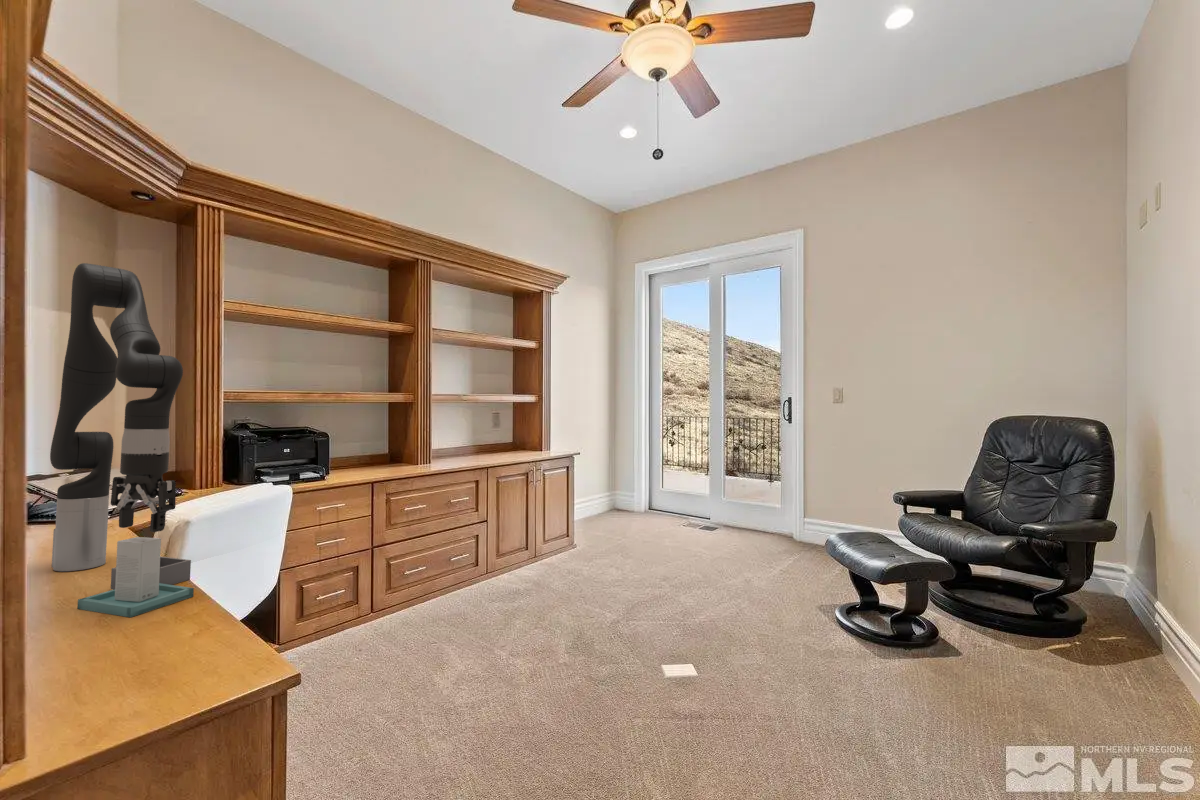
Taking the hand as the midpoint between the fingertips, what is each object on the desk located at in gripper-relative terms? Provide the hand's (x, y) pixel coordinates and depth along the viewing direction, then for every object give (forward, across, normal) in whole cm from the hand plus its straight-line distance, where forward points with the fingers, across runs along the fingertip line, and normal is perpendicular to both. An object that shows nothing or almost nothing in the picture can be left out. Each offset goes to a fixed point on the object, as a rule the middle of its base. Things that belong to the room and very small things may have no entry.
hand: (141, 529), depth 108 cm
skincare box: (+14, 0, 0) cm, 14 cm away
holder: (+15, -9, +9) cm, 20 cm away
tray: (+15, 0, 0) cm, 15 cm away
